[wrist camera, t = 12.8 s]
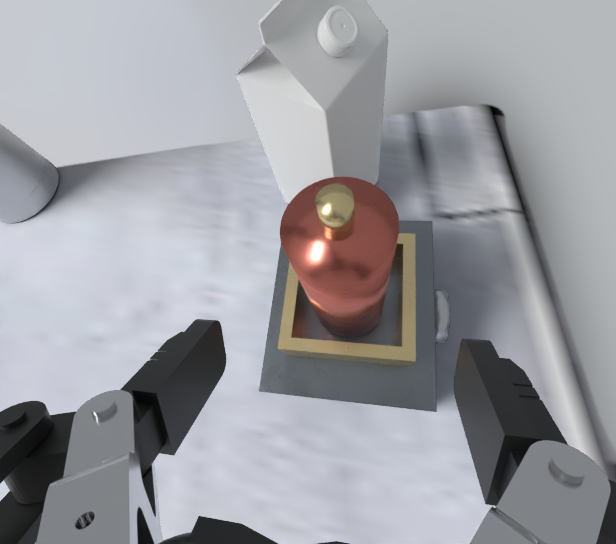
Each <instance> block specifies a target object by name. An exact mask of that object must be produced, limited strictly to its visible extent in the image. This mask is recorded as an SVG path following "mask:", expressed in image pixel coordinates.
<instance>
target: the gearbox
mask: <svg viewBox="0 0 616 544" xmlns="http://www.w3.org/2000/svg"><path fill="white" fill-rule="evenodd" d="M449 327H450V302H449V297H448V294H447V292H446V291H437V290H434V279H433V235H432V221H399V235H398V240H397V245H396V249H395V254H394V259H393V264H392V268H391V273H390V278H389V282H388V287H387V292H386V297H385V301H384V306H383V311H382V315H381V317H380V319H379V321H378V323H377V324H376V325H375V326H374V327H373V328H372V329H371V330H370V331H369V332H367V333H365V334H363V335H360V336H357V337H342V336H339V335H336V334H334V333H332V332H330V331H329V330H328V329H326V328H325V327H324V325H323V324H322V323H321V321H320V319H319V318H318V316H317V314H316V312H315V310H314V308H313V306H312V304H311V302H310V300H309V298H308V296H307V294H306V292H305V290H304V288H303V287H302V285H301V283H300V281H299V279H298V277H297V275H296V273H295V271H294V269H293V267H292V265H291V263H290V261H289V259H288V257H287V255H286V253H285V252H284V249H283V246H282V243H281V248H280V255H279V261H278V268H277V275H276V281H275V288H274V295H273V301H272V308H271V315H270V322H269V328H268V335H267V342H266V348H265V355H264V362H263V368H262V375H261V382H260V388H259V391H260V392H269V393H278V394H286V395H295V396H304V397H312V398H321V399H330V400H338V401H347V402H356V403H364V404H373V405H382V406H390V407H399V408H408V409H416V410H425V411H434V412H437V411H436V367H435V342H443V343H444V342H446V340H447V337H448V333H449Z"/></svg>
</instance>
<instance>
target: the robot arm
mask: <svg viewBox="0 0 616 544" xmlns="http://www.w3.org/2000/svg"><path fill="white" fill-rule="evenodd" d="M58 179H59V176H58V171H57V169H56V167H55V166H54V165H53V164H52V163H51V162H49V161H48V160H47V159H45V158H44V157H43V156H41V155H40V154H38V152H36V151H35V150H34V149H32V148H31V147H30V146H29V145H27V144H26V143H25V142H23V141H22V140H21V139H20V138H18V137H17V136H16V135H14V134H13V133H12V132H11V131H9V130H8V129H6V128H5V127H4V126H3V125H1V124H0V221H1V222H4V223H15V222H20V221H23V220H26V219H28V218H30V217H31V216H33V215H35V214H36V213H38V212H39V211H40V210H41V209H42V208H43V207H44V206H45V205H47V203H48V202H49V201H50V199H51V198H52V197H53V195H54V193H55V191H56V188H57V185H58ZM225 366H226V353H225V347H224V341H223V335H222V329H221V324H220V322H219V321H216V320H202V319H197V320H195V321H194V322H193V323H192V324H191V325H190V326H189V327H188V329H187V330H186V331H185V332H180V333H179V334H177V335H175V336H174V337H172V338H170V339H169V340H167V341H166V342H165V343H164V344H163V345H162V347H161V348H160V349H159V350H158V352H156V353H155V354H154V355H153V356H152V357H151V358H150V361H147V362H146V363H145V364H144V365H143V367H142V368H141V369H140V370H139V371H138V372H137V373H136V374H135V375H134V376H133V377H132V378H131V379H130V380H129V381H128V382H127V383H126V384H125V385H124V387H123V388H122V389H121V390H114V391H108V392H105V393H102V394H99V395H97V396H95V397H93V398H92V399H90V400H88V401H87V402H86V403H84V404H83V405H82V406H81V407H80V408H79V409H78V411H77V412H70V413H63V414H56V415H50V414H49V412H48V410H47V408H46V406H45V404H44V403H42V402H39V401H28V402H23V403H20V404H17V405H14V406H11V407H9V408H7V409H5V410H3V411H1V412H0V483H1V482H2V481H3V480H4V481H5V483H6V484H7V486H8V488H9V489H10V492H9V493H8V494H7V495H6V496H5V497H4V498H3V499H2V500H1V501H0V544H35V543H36V544H278V543H276V542H274V541H272V540H270V539H268V538H267V537H265V536H263V535H261V534H259V533H257V532H256V531H254V530H252V529H250V528H248V527H246V526H245V525H243V524H239V523H234V522H229V521H223V520H218V519H212V518H207V517H201V516H199V517H198V519H197V522H196V524H195V526H194V528H193V531H192V533H186V534H182V535H178V536H175V537H172V538H169V539H167V540H164V541H163V538H162V532H161V526H160V516H159V506H158V495H157V484H156V474H155V466H154V463H153V461H154V460H155V458H156V457H157V455H158V454H159V453H162V454H169V455H174V454H175V453H176V451H177V449H178V448H179V446H180V444H181V443H182V441H183V439H184V438H185V436H186V434H187V433H188V431H189V429H190V428H191V426H192V425H193V423H194V421H195V420H196V418H197V416H198V415H199V413H200V411H201V410H202V408H203V406H204V405H205V403H206V401H207V400H208V398H209V396H210V395H211V393H212V391H213V390H214V388H215V386H216V385H217V383H218V381H219V380H220V378H221V376H222V375H223V373H224V370H225ZM454 394H455V399H456V403H457V406H458V410H459V413H460V417H461V420H462V424H463V427H464V431H465V434H466V438H467V441H468V445H469V448H470V452H471V455H472V459H473V462H474V465H475V469H476V472H477V476H478V479H479V483H480V486H481V490H482V493H483V497H484V500H485V504H489V505H495V506H496V508H493V507H492V508H491V509H490V510H489V512H488V513H487V515H486V516H485V518H484V520H483V522H482V523H481V525H480V527H479V529H478V530H477V532H476V534H475V536H474V537H473V539H472V541H471V543H470V544H616V483H615V482H613V481H611V480H609V479H608V478H607V477H606V475H605V473H604V472H603V471H602V469H601V468H600V467H599V466H598V465H597V464H596V463H595V462H594V461H593V460H592V459H590V458H589V457H588V456H587V455H585V454H584V453H582V452H581V451H579V450H577V449H575V448H573V447H571V446H569V445H568V444H567V442H566V441H565V439H564V437H563V436H562V434H561V432H560V431H559V429H558V427H557V426H556V424H555V422H554V421H553V419H552V417H551V415H550V414H549V412H548V410H547V409H546V407H545V405H544V404H543V402H542V400H540V399H539V395H538V394H537V392H536V390H535V389H534V388H533V387H532V383H531V382H530V380H529V378H528V377H527V375H526V373H525V372H524V371H523V370H522V369H521V368H520V367H519V366H517V365H516V364H515V363H514V362H513V361H511V360H510V359H504V358H499V356H498V354H497V352H496V350H495V349H494V347H493V345H492V343H491V342H490V341H488V340H474V339H462V341H461V344H460V349H459V355H458V360H457V366H456V371H455V377H454ZM319 544H348V543H343V542H337V541H336V542H328V543H319Z"/></svg>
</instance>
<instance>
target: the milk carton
mask: <svg viewBox="0 0 616 544" xmlns="http://www.w3.org/2000/svg"><path fill="white" fill-rule="evenodd" d="M258 27H259V31H260V34H261V38H262V41H263V45H262V46H261V47H260V48H259V49H258V50H257V51H256V52H255V53H254V54H253V55H252V57H251V58H250V59H249V60H248V61H247V62H246V63H245V64H244V65H243V66H242V67H241V69H240V70H239V71H238V72H237V73H236V74H235V76H236V78H237V80H238V83H239V86H240V88H241V91H242V93H243V96H244V99H245V101H246V104H247V106H248V109H249V111H250V114H251V117H252V119H253V122H254V124H255V127H256V129H257V132H258V134H259V137H260V140H261V142H262V145H263V147H264V150H265V153H266V155H267V158H268V160H269V163H270V165H271V168H272V171H273V173H274V176H275V178H276V181H277V183H278V186H279V189H280V191H281V194H282V196H283V199H284V201H285V202H286V203H288V204H289V203H290V202H291V200H292V199H293V198H294V197H295V196H296V195H297V194H298V193H299V192H300V191H302V190H303V189H304V188H306V187H307V186H309V185H311V184H313V183H315V182H317V181H320V180H323V179H327V178H332V177H353V178H358V179H362V180H365V181H367V182H370V183H372V184H373V185H375V184H376V183H377V181H378V178H379V164H380V150H381V135H382V121H383V106H384V91H385V76H386V62H387V46H388V30H387V29H386V27H385V26H384V25H383V23H382V22H381V20H380V19H379V18H378V16H377V15H376V14H375V12H374V11H373V9H372V8H371V7H370V5H369V4H368V3H367V1H366V0H278V1H277V2H276V3H275V4H274V5H273V6H272V7H271V9H270V10H269V11H268V12H267V13H266V14H265V15H264V16H263V17H262V18H261V19H260V20H259V21H258Z"/></svg>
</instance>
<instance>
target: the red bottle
mask: <svg viewBox="0 0 616 544" xmlns="http://www.w3.org/2000/svg"><path fill="white" fill-rule="evenodd" d="M398 235H399V219H398V214H397V211H396V209H395V206H394V205H393V203H392V201H391V200H390V198H389V197H388V196H387V195H386V194H385V193H384V192H383V191H382V190H381V189H380V188H378V187H377V186H375V185H373V184H372V183H370V182H367V181H365V180H362V179H358V178H353V177H332V178H327V179H323V180H320V181H317V182H315V183H313V184H311V185H309V186H307V187H306V188H304V189H303V190H302V191H300V192H299V193H298V194H297V195H296V196H295V197H294V198H293V199H292V200H291V202H290V203H289V205H288V206H287V208H286V210H285V212H284V214H283V217H282V221H281V226H280V238H281V243H282V246H283V249H284V252H285V253H286V255H287V257H288V259H289V261H290V263H291V265H292V267H293V269H294V271H295V273H296V275H297V277H298V279H299V281H300V283H301V285H302V287H303V288H304V290H305V292H306V294H307V296H308V298H309V300H310V302H311V304H312V306H313V308H314V310H315V312H316V314H317V316H318V318H319V319H320V321H321V323H322V324H323V325H324V327H325V328H326V329H328V330H329V331H330V332H332V333H334V334H336V335H339V336H342V337H357V336H360V335H363V334H365V333H367V332H369V331H370V330H371V329H372V328H373V327H374V326H375V325H376V324H377V323H378V321H379V319H380V317H381V315H382V311H383V306H384V301H385V297H386V292H387V287H388V282H389V278H390V273H391V268H392V264H393V259H394V254H395V249H396V245H397V240H398Z"/></svg>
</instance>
